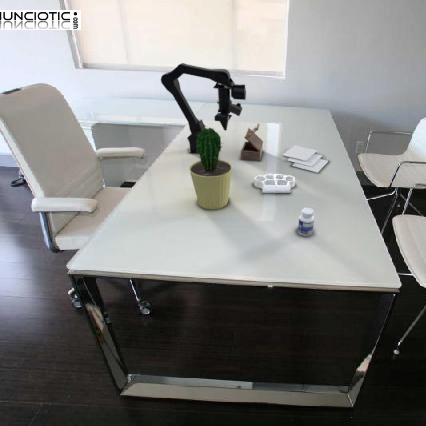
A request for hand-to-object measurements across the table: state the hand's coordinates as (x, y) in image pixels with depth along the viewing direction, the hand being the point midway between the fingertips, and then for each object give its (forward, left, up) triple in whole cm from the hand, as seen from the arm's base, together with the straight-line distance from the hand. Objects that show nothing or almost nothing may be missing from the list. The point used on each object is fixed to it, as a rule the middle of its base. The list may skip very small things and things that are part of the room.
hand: (225, 130), depth 158 cm
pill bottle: (+20, -74, -12) cm, 78 cm away
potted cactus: (-10, -49, -12) cm, 51 cm away
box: (+13, -4, -12) cm, 18 cm away
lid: (+14, -5, -4) cm, 15 cm away
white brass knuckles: (+17, -40, -12) cm, 45 cm away
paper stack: (+40, -12, -12) cm, 43 cm away
